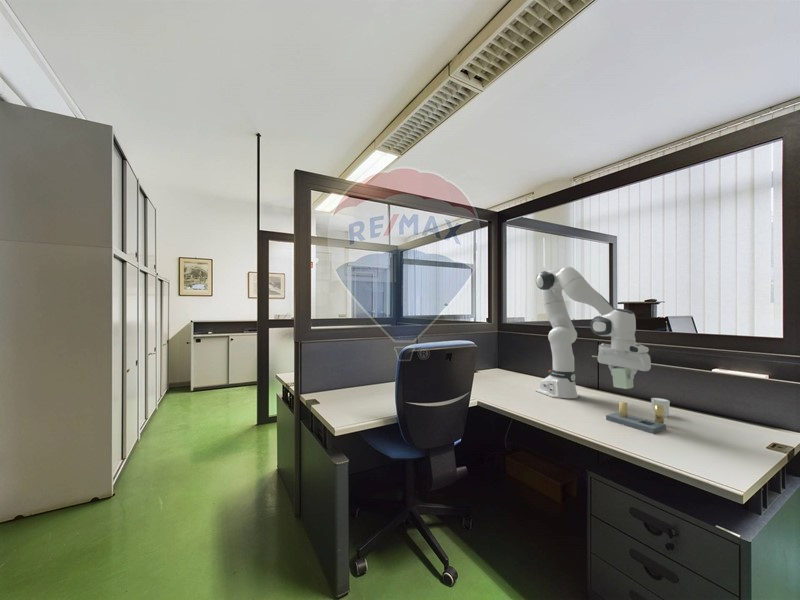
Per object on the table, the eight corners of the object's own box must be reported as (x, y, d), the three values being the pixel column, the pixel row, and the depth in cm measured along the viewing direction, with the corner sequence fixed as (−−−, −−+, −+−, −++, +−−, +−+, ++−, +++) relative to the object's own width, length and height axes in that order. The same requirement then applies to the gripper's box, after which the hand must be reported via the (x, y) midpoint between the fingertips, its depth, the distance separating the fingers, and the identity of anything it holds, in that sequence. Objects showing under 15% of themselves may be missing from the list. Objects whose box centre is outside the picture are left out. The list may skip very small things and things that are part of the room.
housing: (613, 386, 143) (612, 368, 143) (620, 385, 145) (618, 367, 146) (626, 389, 138) (625, 370, 139) (633, 387, 140) (632, 368, 141)
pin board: (606, 419, 143) (605, 401, 143) (618, 416, 148) (618, 398, 148) (653, 433, 127) (653, 413, 127) (665, 429, 132) (665, 409, 132)
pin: (653, 423, 138) (653, 405, 138) (657, 422, 139) (656, 404, 139) (661, 426, 135) (661, 407, 135) (665, 425, 136) (665, 406, 137)
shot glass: (673, 417, 145) (673, 402, 145) (656, 416, 147) (656, 401, 147) (664, 412, 152) (664, 397, 152) (648, 411, 153) (647, 397, 153)
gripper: (595, 343, 150) (594, 372, 150) (645, 349, 131) (644, 383, 132) (603, 342, 153) (602, 371, 153) (653, 348, 134) (652, 381, 135)
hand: (622, 377), depth 142 cm, fingers closed on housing, 6 cm apart
